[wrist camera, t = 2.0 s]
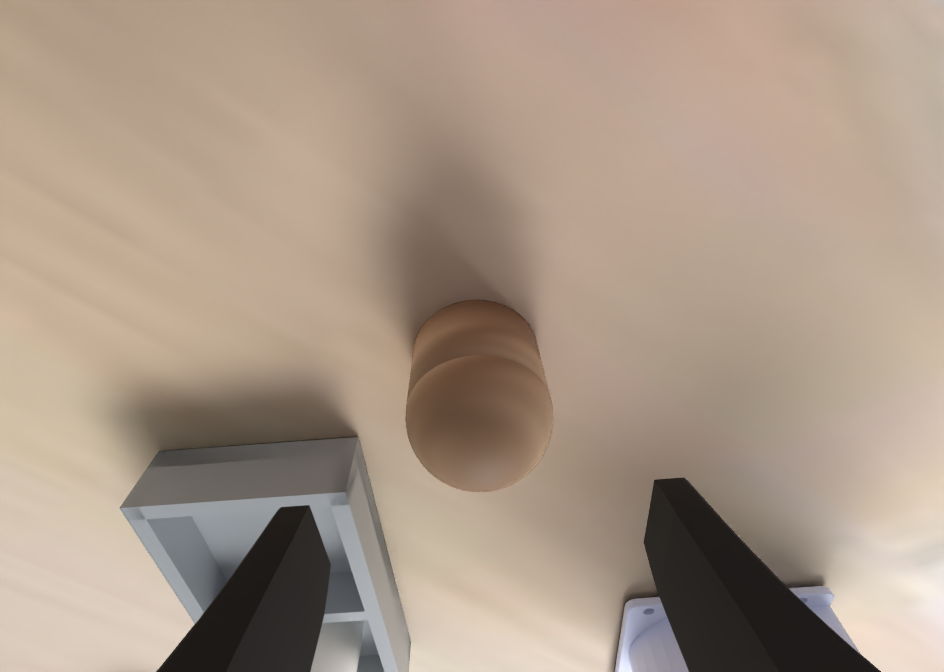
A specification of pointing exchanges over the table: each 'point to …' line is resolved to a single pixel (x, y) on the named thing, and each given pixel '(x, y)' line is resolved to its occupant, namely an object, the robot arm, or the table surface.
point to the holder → (248, 513)
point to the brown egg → (478, 397)
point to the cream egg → (338, 647)
